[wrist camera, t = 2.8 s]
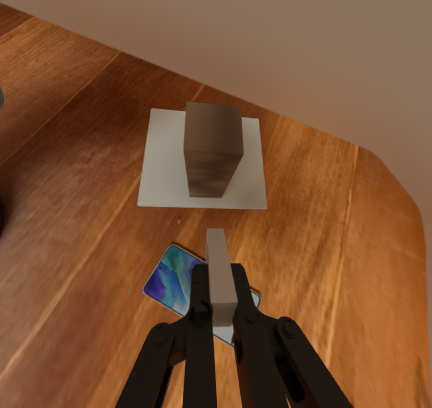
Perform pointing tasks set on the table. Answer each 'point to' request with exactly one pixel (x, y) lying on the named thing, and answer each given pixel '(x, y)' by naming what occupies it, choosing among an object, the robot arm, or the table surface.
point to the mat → (176, 171)
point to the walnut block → (211, 147)
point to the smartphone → (181, 286)
